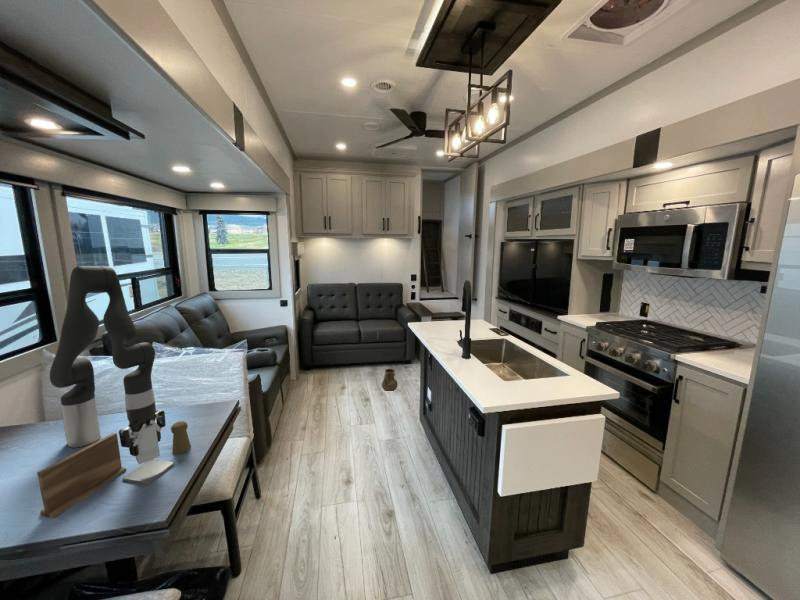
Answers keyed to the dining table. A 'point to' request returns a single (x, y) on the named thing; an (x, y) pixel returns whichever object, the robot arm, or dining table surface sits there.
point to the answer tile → (148, 471)
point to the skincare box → (147, 444)
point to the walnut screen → (79, 475)
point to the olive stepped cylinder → (180, 438)
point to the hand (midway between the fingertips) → (146, 448)
